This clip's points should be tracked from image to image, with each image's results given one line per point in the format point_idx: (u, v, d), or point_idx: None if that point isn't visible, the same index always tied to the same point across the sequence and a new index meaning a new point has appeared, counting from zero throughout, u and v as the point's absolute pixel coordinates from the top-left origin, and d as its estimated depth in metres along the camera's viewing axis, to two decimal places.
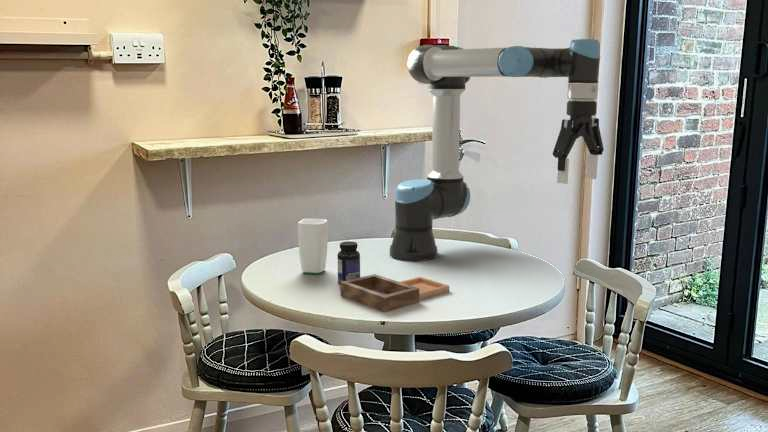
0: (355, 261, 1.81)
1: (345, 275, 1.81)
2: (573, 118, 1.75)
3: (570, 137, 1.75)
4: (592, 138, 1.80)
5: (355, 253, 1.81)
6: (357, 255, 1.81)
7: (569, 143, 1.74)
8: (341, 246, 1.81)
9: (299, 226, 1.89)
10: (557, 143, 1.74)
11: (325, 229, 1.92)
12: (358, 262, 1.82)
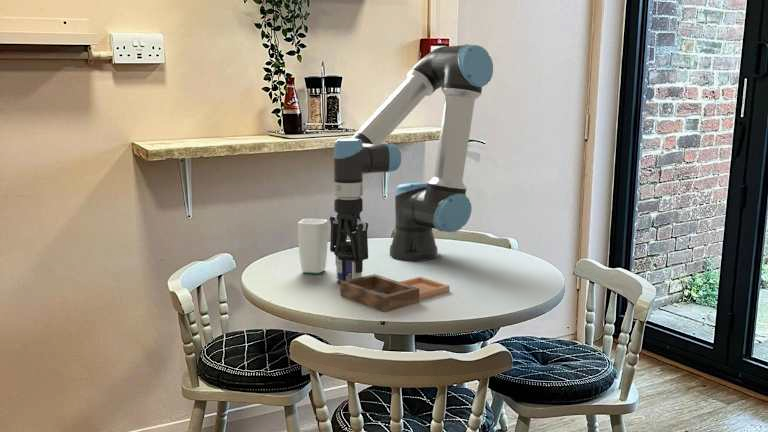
0: None
1: (345, 275, 1.81)
2: None
3: None
4: (351, 239, 1.79)
5: None
6: None
7: None
8: (341, 246, 1.81)
9: (299, 226, 1.89)
10: None
11: (325, 229, 1.92)
12: None
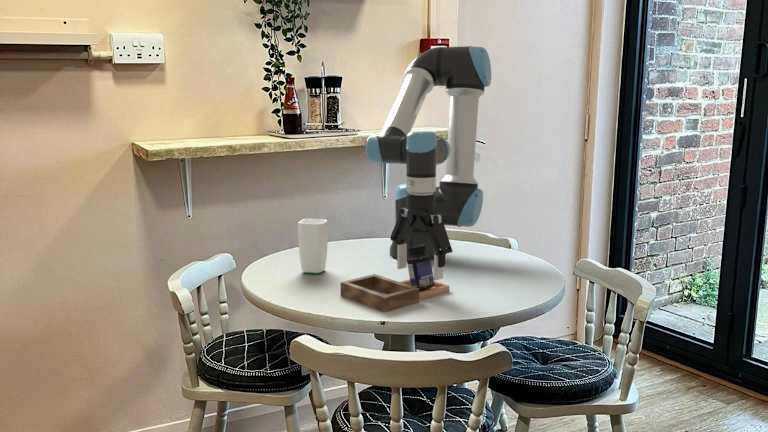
0: (426, 263, 1.73)
1: (419, 279, 1.72)
2: None
3: None
4: (428, 234, 1.70)
5: (425, 255, 1.73)
6: (427, 256, 1.73)
7: None
8: (409, 250, 1.73)
9: (299, 226, 1.89)
10: None
11: (325, 229, 1.92)
12: (429, 264, 1.74)
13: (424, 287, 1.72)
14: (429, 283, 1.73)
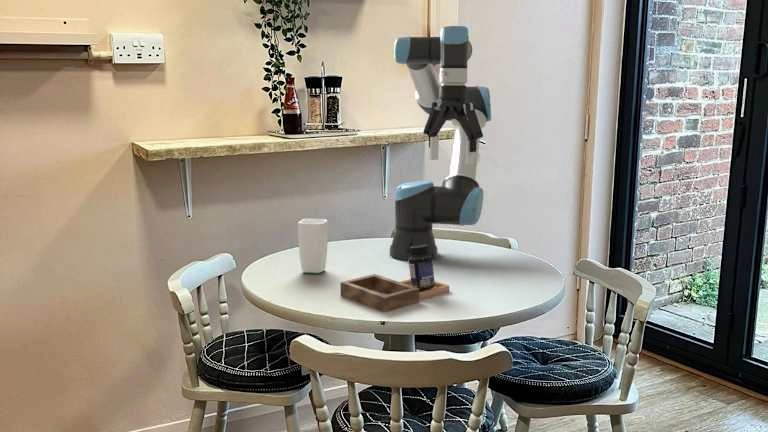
0: (428, 263, 1.73)
1: (419, 279, 1.72)
2: None
3: None
4: (460, 122, 1.84)
5: (427, 255, 1.73)
6: (429, 257, 1.73)
7: None
8: (411, 249, 1.73)
9: (299, 226, 1.89)
10: None
11: (325, 229, 1.92)
12: (431, 265, 1.74)
13: (424, 287, 1.72)
14: (429, 284, 1.73)
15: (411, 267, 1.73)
